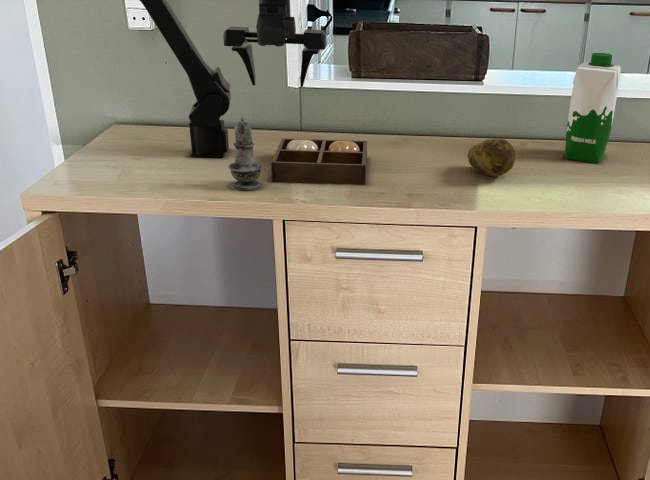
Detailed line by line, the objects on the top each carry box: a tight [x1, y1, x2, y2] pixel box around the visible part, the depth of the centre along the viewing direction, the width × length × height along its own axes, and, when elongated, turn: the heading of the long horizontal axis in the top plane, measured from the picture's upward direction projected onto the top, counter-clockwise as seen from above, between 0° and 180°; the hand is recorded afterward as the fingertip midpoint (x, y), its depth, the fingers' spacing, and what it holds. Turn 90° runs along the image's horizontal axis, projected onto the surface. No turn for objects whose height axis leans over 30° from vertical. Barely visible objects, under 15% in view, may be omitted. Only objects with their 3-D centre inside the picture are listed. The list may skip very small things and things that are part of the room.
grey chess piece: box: [227, 116, 263, 192], centre depth 132 cm, size 6×6×12 cm
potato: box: [467, 137, 517, 178], centre depth 143 cm, size 8×13×8 cm, turn 179°
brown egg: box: [328, 140, 360, 152], centre depth 148 cm, size 6×4×4 cm
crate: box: [270, 137, 368, 185], centre depth 144 cm, size 17×17×4 cm
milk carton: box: [564, 52, 622, 164], centre depth 154 cm, size 9×9×20 cm
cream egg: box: [286, 140, 319, 151], centre depth 147 cm, size 6×4×4 cm
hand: (278, 86), depth 147 cm, fingers open, 9 cm apart
